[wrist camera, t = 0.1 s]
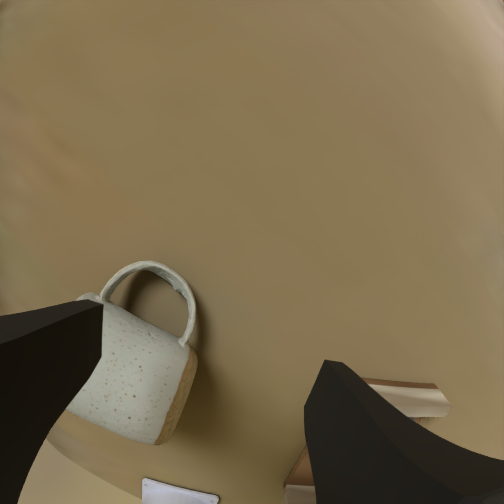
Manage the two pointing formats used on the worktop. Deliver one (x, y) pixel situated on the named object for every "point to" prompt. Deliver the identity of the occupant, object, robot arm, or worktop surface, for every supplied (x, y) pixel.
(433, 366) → the worktop surface
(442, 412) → the brown tray
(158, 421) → the ceramic mug
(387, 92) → the worktop surface
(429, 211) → the worktop surface
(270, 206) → the worktop surface
